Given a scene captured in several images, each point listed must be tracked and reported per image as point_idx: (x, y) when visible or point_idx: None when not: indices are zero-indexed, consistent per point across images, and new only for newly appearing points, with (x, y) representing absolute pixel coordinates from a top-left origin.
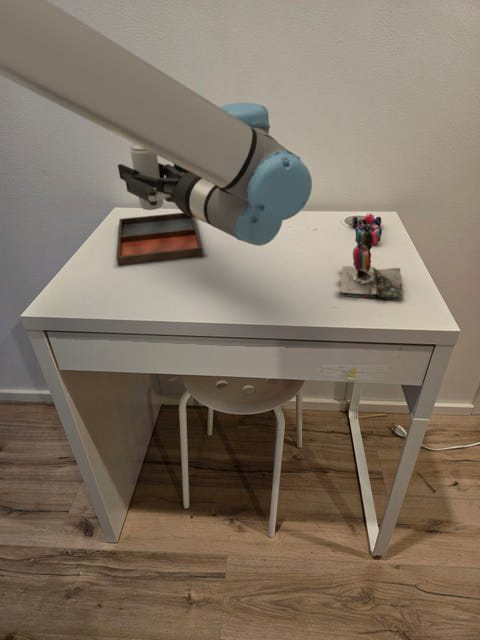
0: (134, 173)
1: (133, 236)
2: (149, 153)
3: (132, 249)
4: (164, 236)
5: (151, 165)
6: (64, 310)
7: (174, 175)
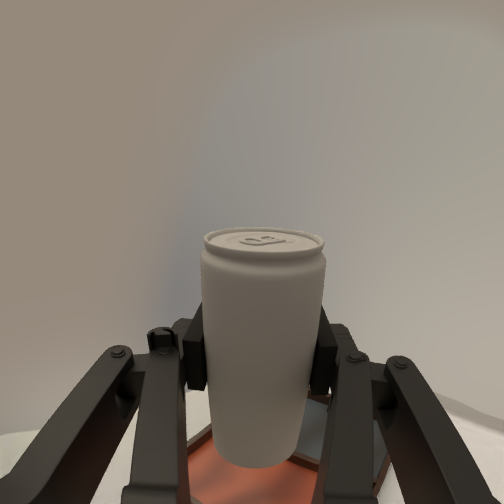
0: (164, 345)
1: None
2: (254, 283)
3: (215, 460)
4: (304, 465)
5: (254, 344)
6: (4, 472)
7: (324, 472)
